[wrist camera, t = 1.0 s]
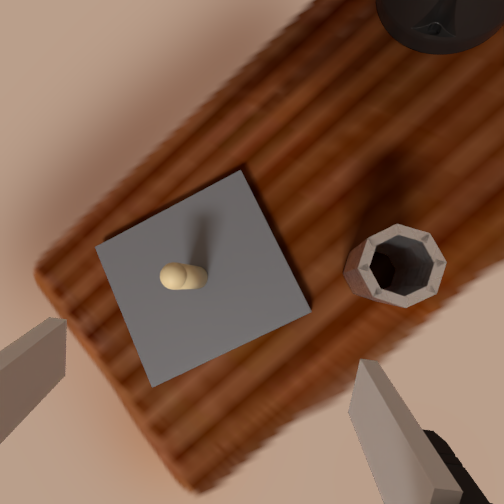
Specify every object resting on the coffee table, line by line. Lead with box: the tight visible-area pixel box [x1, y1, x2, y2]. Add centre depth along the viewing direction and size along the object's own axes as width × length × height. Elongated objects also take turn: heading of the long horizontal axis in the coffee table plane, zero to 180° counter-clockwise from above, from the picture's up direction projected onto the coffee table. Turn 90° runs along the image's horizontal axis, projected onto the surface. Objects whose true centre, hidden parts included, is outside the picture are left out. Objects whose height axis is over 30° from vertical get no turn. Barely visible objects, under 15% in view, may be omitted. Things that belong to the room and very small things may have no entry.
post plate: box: [95, 170, 311, 387], centre depth 37 cm, size 20×18×10 cm
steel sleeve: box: [343, 224, 447, 308], centre depth 33 cm, size 6×6×12 cm
